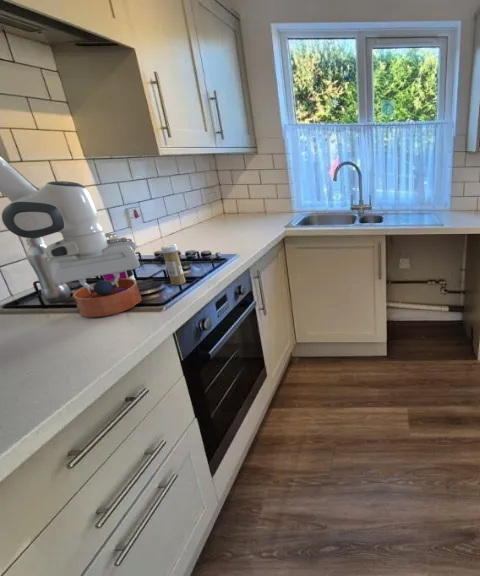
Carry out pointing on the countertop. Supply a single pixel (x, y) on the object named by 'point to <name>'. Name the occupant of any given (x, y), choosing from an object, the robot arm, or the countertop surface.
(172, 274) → the sprinkles bottle
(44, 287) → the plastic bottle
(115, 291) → the plum ball
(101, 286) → the slate ball
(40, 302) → the countertop surface
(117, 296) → the bowl
